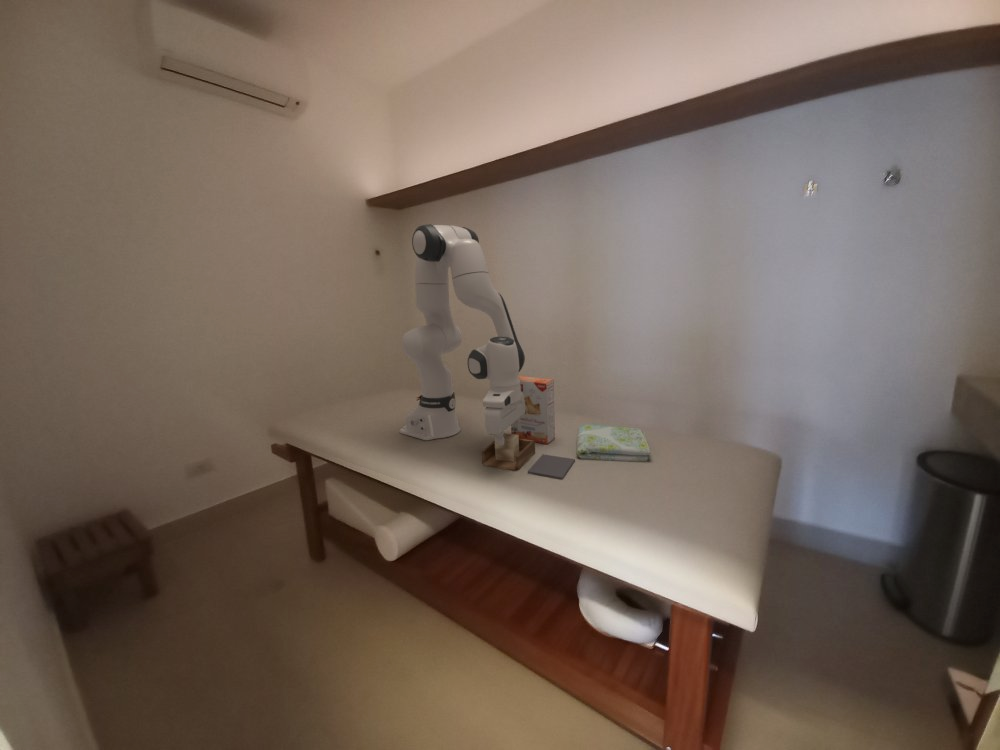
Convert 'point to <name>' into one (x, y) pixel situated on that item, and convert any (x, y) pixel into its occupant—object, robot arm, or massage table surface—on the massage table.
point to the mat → (551, 466)
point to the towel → (611, 443)
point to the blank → (507, 448)
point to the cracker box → (537, 410)
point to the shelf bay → (524, 455)
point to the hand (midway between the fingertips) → (508, 438)
